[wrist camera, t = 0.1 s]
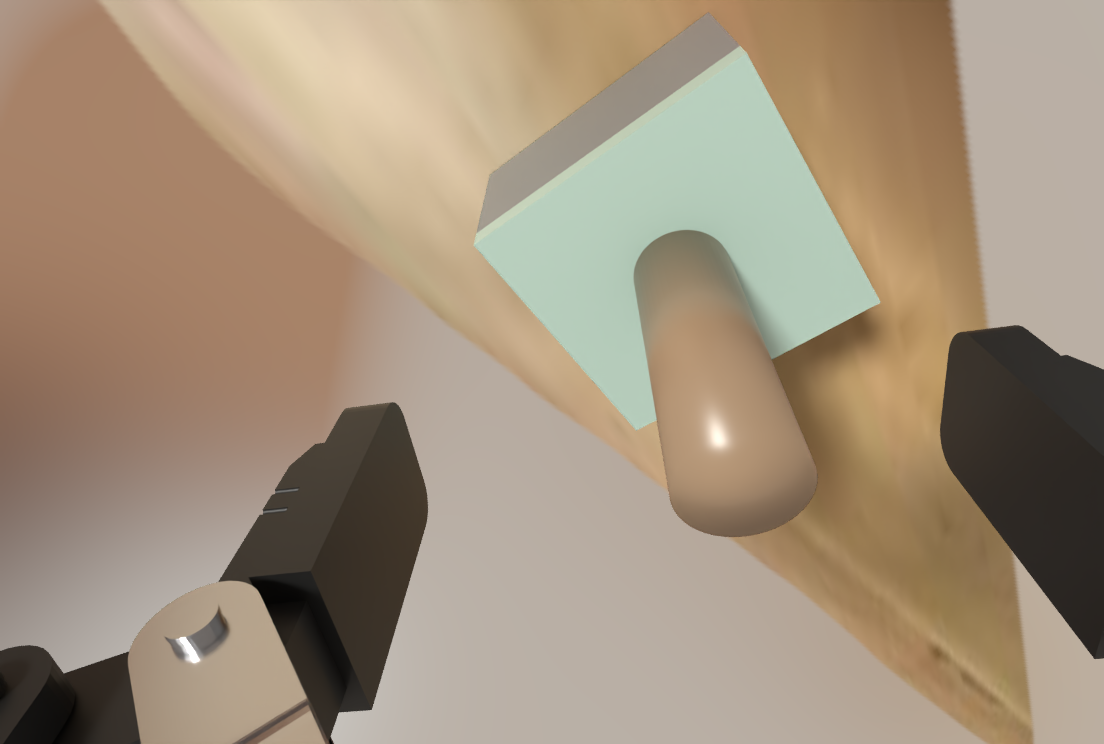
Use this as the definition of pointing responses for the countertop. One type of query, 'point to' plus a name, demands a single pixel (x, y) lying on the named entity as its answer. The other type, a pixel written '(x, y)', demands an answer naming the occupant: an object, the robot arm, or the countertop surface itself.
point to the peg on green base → (693, 288)
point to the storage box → (606, 115)
